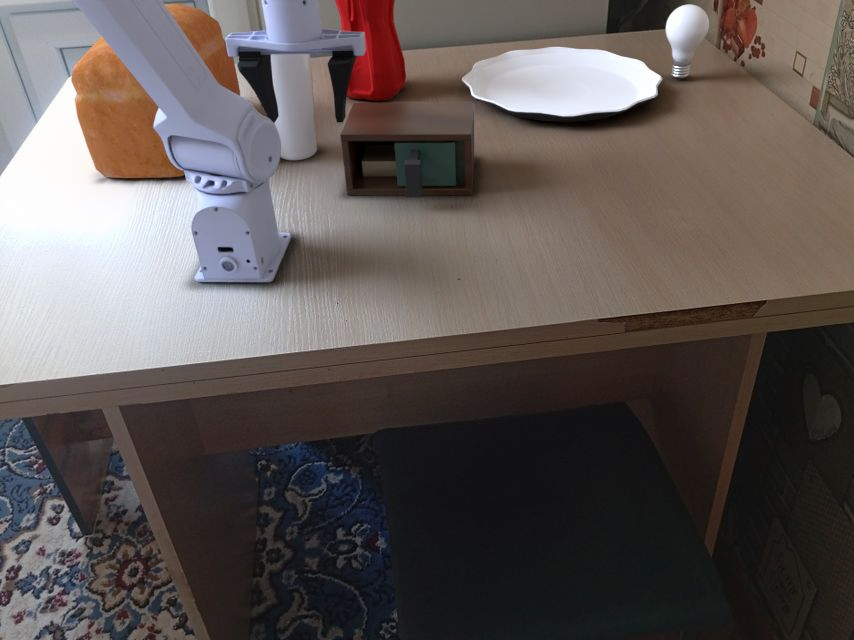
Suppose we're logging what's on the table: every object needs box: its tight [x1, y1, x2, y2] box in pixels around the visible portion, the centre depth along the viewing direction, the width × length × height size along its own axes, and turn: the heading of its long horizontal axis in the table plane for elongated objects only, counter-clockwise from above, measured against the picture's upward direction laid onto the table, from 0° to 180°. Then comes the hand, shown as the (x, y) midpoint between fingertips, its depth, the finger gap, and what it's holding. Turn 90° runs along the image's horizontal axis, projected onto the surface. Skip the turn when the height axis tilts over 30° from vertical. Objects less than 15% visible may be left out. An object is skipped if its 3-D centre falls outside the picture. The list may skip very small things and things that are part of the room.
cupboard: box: [339, 101, 475, 196], centre depth 96 cm, size 10×15×8 cm, turn 88°
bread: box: [70, 2, 241, 179], centre depth 104 cm, size 14×26×16 cm, turn 179°
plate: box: [461, 46, 664, 123], centre depth 119 cm, size 29×29×2 cm
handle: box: [394, 141, 457, 198], centre depth 90 cm, size 5×7×5 cm
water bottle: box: [334, 0, 407, 102], centre depth 113 cm, size 9×11×25 cm
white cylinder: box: [271, 54, 318, 161], centre depth 99 cm, size 7×7×15 cm
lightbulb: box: [665, 3, 710, 81], centre depth 120 cm, size 6×6×11 cm
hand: (307, 119), depth 89 cm, fingers open, 7 cm apart
